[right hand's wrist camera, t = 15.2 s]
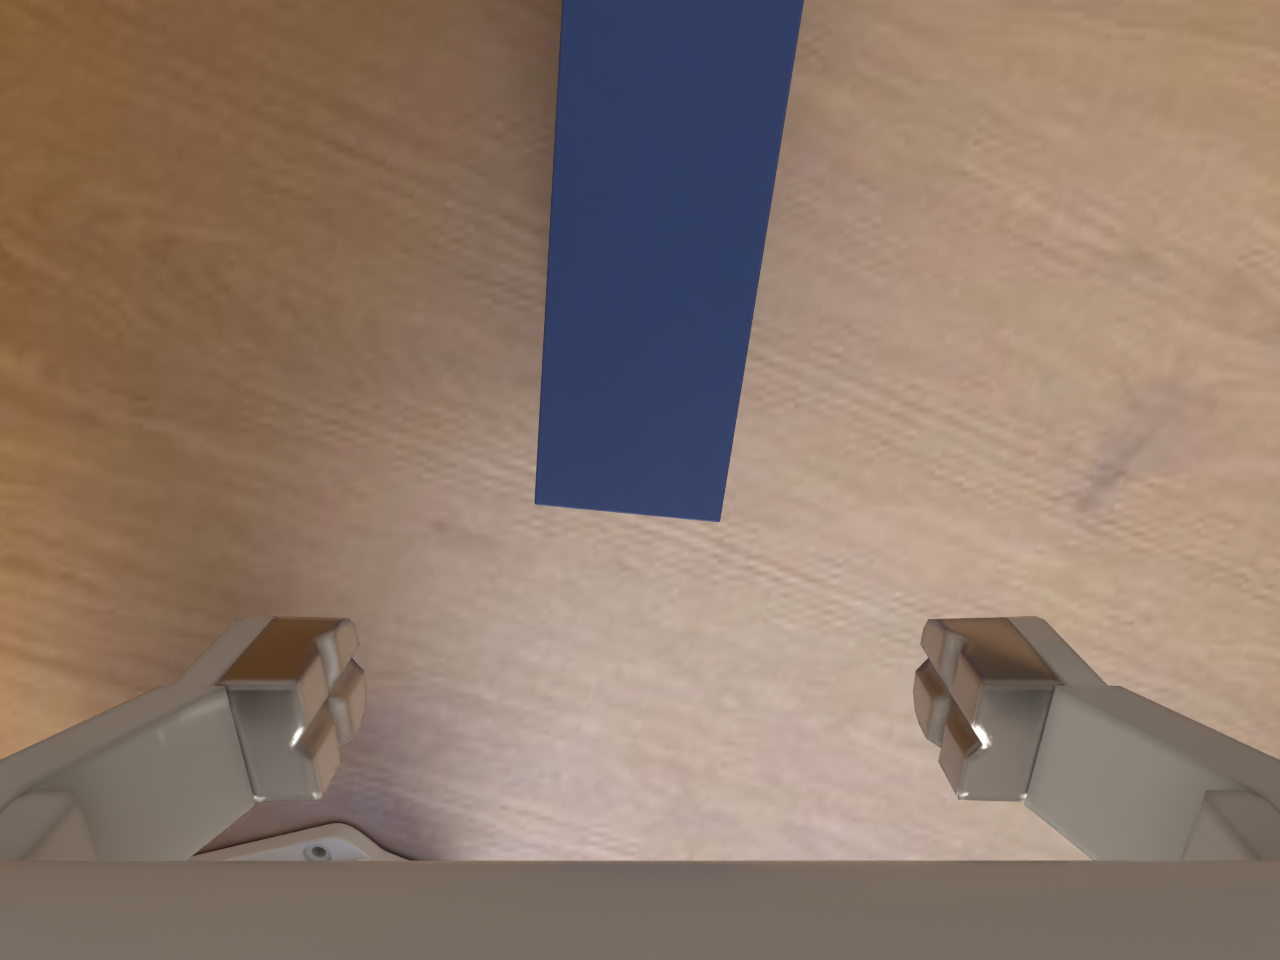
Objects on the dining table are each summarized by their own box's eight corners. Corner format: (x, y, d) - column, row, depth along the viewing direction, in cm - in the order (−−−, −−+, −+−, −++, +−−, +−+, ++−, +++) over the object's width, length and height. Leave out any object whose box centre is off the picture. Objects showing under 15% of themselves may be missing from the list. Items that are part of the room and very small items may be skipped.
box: (694, 419, 34) (720, 522, 23) (567, 407, 34) (534, 505, 23) (792, -286, 25) (909, -658, 14) (618, -310, 25) (601, -708, 14)
